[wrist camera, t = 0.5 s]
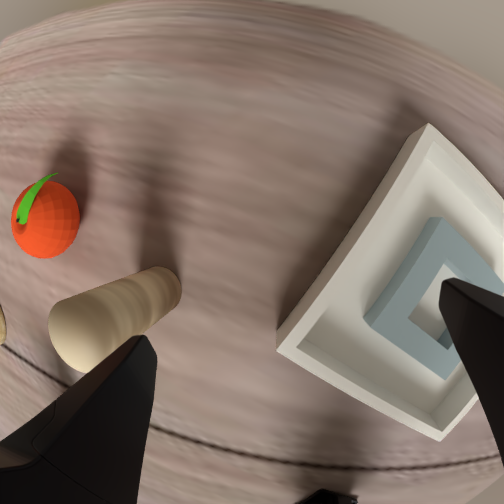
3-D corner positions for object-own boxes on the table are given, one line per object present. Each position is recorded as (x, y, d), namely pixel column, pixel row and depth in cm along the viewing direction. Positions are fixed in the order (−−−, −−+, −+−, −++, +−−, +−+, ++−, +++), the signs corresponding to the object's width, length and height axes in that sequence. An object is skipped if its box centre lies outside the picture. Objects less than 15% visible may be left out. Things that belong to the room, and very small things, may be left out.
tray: (425, 420, 23) (439, 441, 19) (276, 330, 24) (275, 350, 20) (528, 266, 21) (552, 271, 17) (408, 135, 21) (428, 122, 17)
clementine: (66, 163, 24) (18, 151, 17) (110, 195, 24) (60, 188, 17) (38, 231, 25) (-11, 234, 18) (77, 268, 25) (27, 280, 18)
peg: (167, 320, 25) (92, 386, 13) (132, 293, 25) (41, 338, 13) (190, 284, 24) (116, 335, 12) (152, 257, 24) (60, 283, 12)
